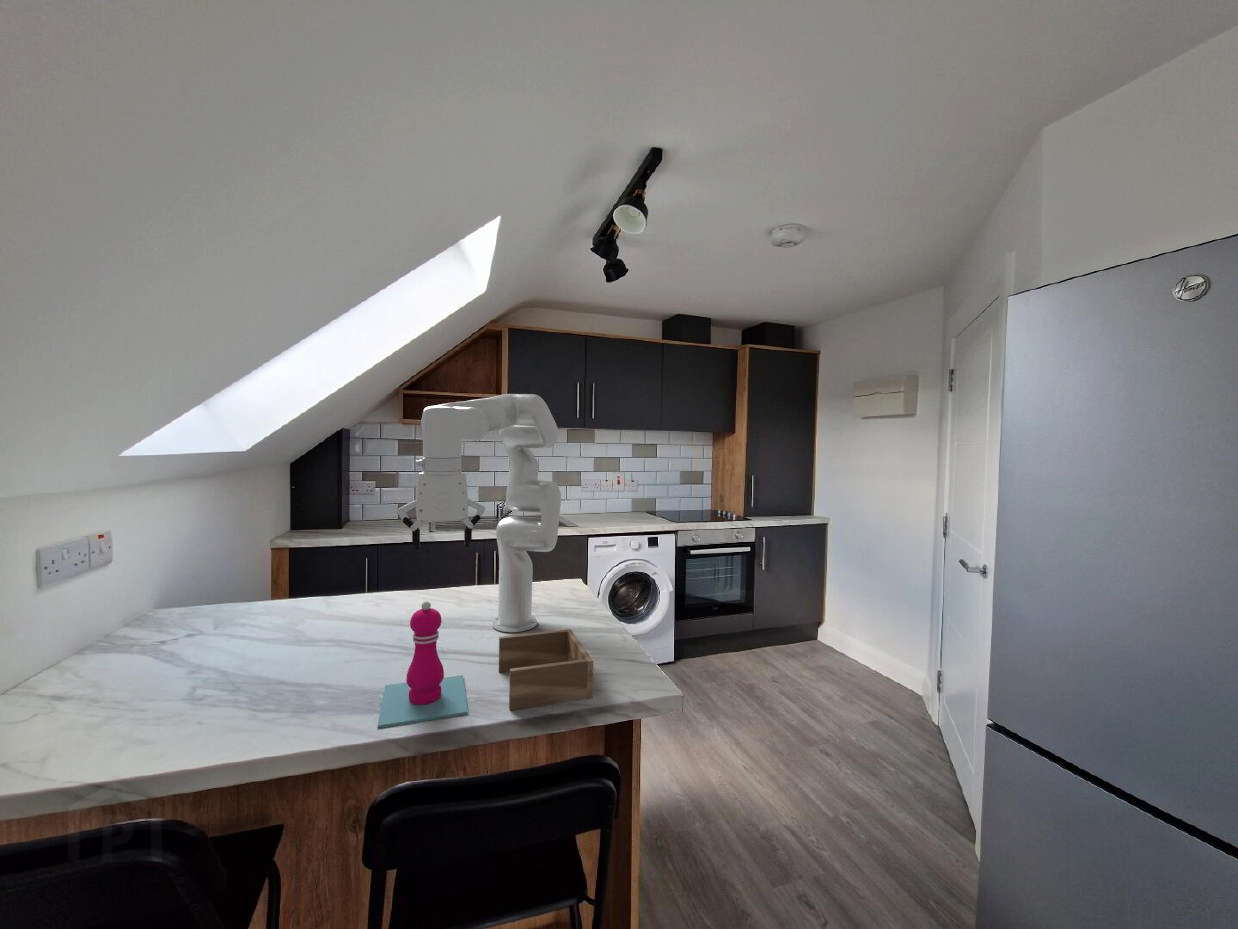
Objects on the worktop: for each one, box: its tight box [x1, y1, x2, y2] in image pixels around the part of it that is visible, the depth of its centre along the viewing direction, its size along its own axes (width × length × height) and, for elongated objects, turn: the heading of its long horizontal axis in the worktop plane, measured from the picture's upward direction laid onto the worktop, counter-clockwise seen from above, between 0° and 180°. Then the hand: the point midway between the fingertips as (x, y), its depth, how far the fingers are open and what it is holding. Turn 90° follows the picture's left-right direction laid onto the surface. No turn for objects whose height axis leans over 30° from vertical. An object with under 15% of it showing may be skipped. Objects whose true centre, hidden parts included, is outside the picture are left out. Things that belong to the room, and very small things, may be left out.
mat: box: [377, 674, 469, 729], centre depth 103 cm, size 16×16×1 cm
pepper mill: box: [405, 600, 445, 705], centre depth 103 cm, size 7×7×20 cm
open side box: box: [498, 628, 594, 711], centre depth 112 cm, size 18×17×8 cm
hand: (442, 547), depth 106 cm, fingers open, 9 cm apart
